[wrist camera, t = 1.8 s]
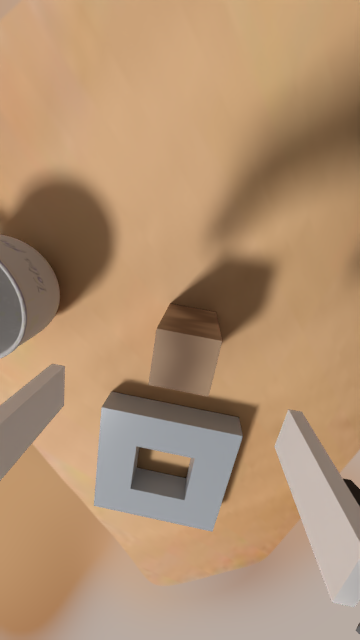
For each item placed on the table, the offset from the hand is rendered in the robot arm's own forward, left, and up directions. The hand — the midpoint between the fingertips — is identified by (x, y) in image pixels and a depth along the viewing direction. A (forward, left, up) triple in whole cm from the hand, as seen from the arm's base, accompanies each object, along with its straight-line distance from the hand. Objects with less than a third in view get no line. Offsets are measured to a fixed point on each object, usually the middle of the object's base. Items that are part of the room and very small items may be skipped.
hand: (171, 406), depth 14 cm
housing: (0, +18, -13) cm, 22 cm away
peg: (0, 0, -13) cm, 13 cm away
